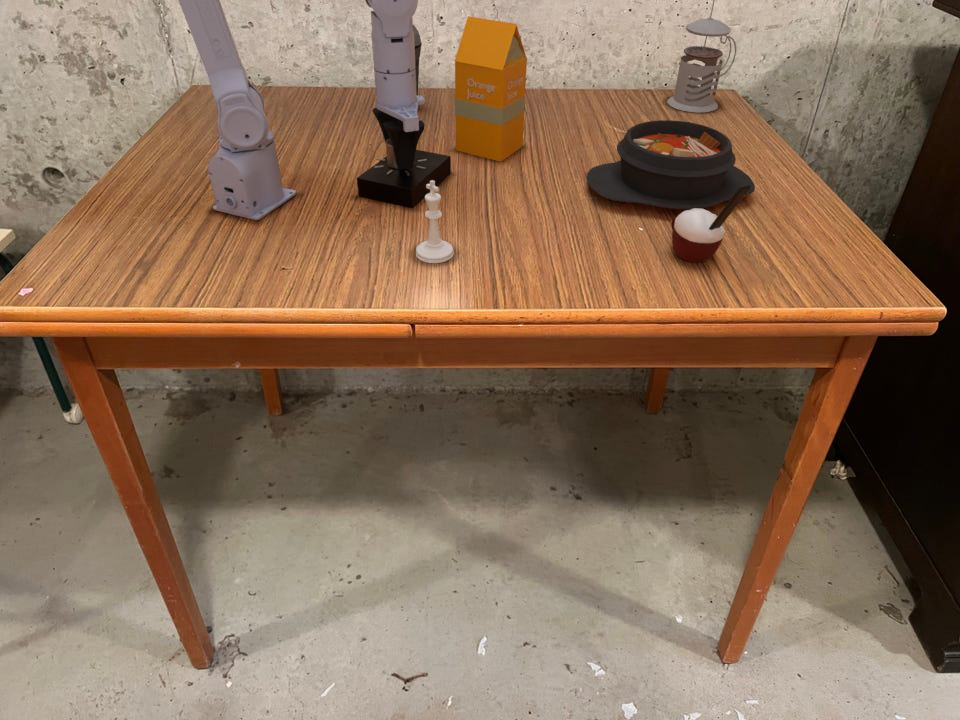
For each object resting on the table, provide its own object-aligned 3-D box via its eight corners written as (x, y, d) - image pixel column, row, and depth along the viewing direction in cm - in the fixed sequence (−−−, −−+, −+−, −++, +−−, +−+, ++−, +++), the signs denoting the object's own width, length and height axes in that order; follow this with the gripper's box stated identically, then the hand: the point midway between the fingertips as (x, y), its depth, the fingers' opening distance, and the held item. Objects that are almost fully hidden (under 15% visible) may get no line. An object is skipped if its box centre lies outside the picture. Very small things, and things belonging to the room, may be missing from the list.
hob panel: (412, 208, 99) (411, 188, 97) (355, 196, 102) (352, 176, 100) (451, 174, 108) (450, 154, 106) (397, 163, 111) (396, 144, 109)
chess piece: (433, 240, 92) (431, 169, 85) (461, 252, 89) (461, 180, 83) (407, 254, 89) (403, 182, 82) (436, 267, 86) (433, 193, 80)
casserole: (722, 163, 112) (735, 112, 107) (773, 217, 98) (790, 160, 93) (573, 169, 110) (578, 117, 105) (602, 225, 96) (610, 167, 90)
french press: (658, 97, 137) (683, -46, 121) (708, 92, 140) (739, -49, 124) (683, 114, 130) (713, -36, 114) (736, 109, 133) (772, -39, 117)
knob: (391, 171, 101) (390, 146, 99) (384, 160, 104) (382, 136, 102) (417, 167, 103) (416, 142, 100) (409, 156, 105) (408, 132, 103)
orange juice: (478, 135, 120) (480, 11, 108) (523, 146, 117) (529, 18, 104) (454, 150, 115) (453, 21, 103) (500, 162, 112) (504, 30, 99)
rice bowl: (659, 240, 92) (676, 154, 85) (704, 238, 93) (725, 153, 85) (681, 278, 85) (702, 188, 78) (730, 276, 86) (756, 186, 78)
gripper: (438, 80, 91) (441, 177, 99) (407, 51, 101) (412, 141, 110) (387, 86, 89) (394, 184, 97) (360, 55, 99) (369, 147, 108)
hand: (400, 162), depth 103 cm, fingers open, 4 cm apart
